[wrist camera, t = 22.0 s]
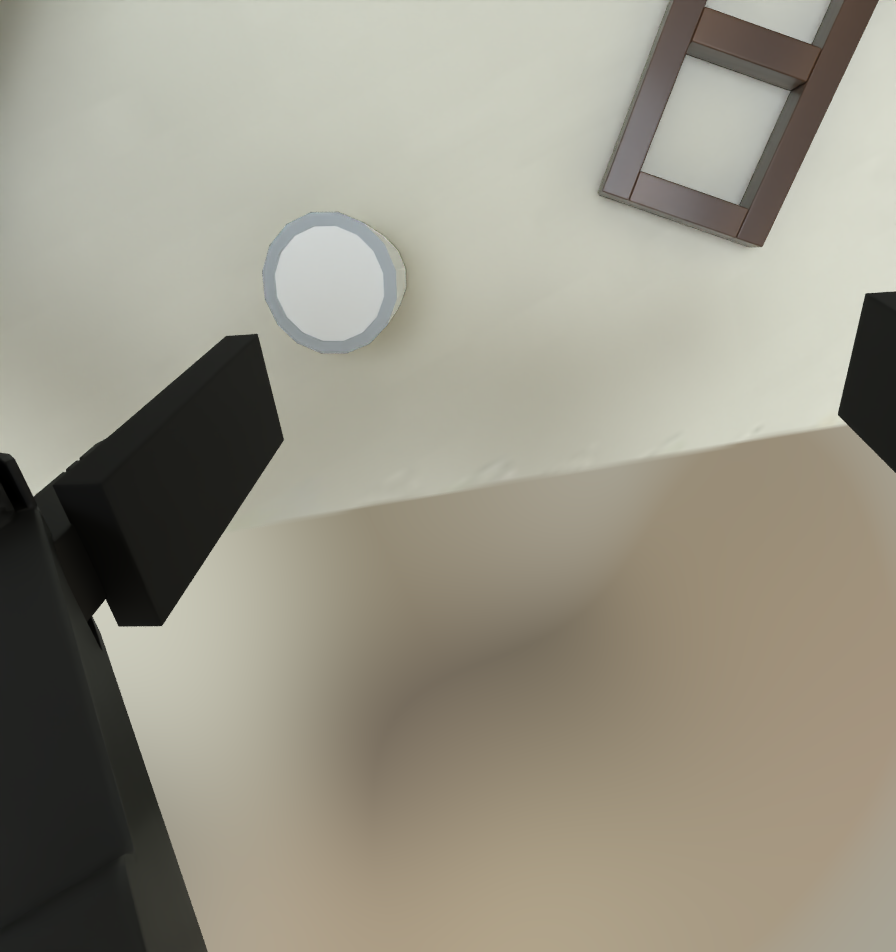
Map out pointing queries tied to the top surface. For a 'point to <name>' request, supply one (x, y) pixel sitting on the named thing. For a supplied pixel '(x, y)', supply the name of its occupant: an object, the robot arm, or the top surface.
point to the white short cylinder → (332, 282)
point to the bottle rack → (751, 54)
